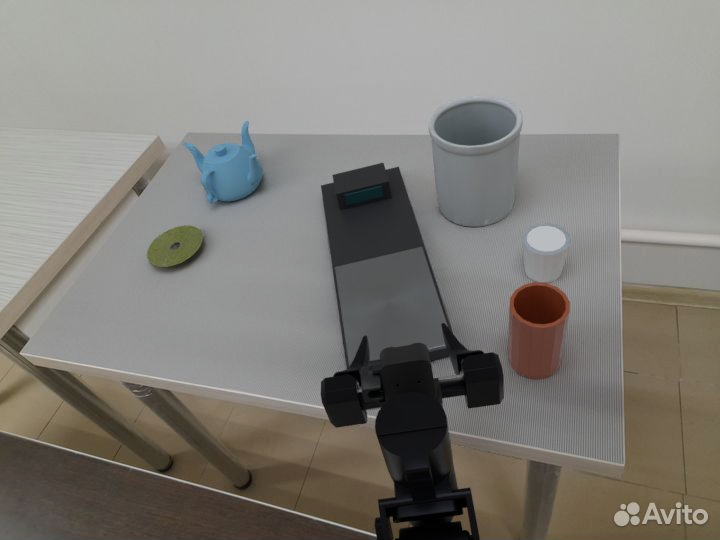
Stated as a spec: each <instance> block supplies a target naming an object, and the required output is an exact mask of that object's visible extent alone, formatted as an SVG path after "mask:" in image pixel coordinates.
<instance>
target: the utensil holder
mask: <svg viewBox="0 0 720 540" xmlns="http://www.w3.org/2000/svg"><path fill="white" fill-rule="evenodd" d="M523 122H524V121H523V113H522V111H521V109H520V108H519V106H518V105H517V104H515V103H514V102H512V101H511V100H509V99H507V98H504V97H500V96H496V95H488V94H474V95H468V96H462V97H459V98H456V99H455V98H454V99H452V100H449V101H447V102H445V103H444V104H442V105H441V106H439V107H438V108H437V109H435V111H434V112H433V113H432V114H431V116H430V118H429V120H428V133H429V137H430V139H431V151H432V162H433V173H434V181H435V182H434V183H435V190H436V196H437V197H436V198H437V203H438V204H437V205H438V208H439V211H440V213H441V214H442V216H443V217H444V218H446V219H447V220H448V221H450V222H452V223H454V224H456V225H459V226H463V227H470V228H471V227H472V228H477V227H485V226H490V225H493V224H496V223H498V222H499V221H502V220H503V219H504V218H506V217H507V216H508V215H509V214H510V213H511V211H512V210H513V208H514V205H515V198H516V191H517V190H516V189H517V188H516V187H517V179H518V165H519V152H520V140H521V131H522V128H523Z"/></svg>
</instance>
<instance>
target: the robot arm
mask: <svg viewBox="0 0 720 540" xmlns="http://www.w3.org/2000/svg"><path fill="white" fill-rule="evenodd" d="M441 326H442V332H443V337H444V342H445V345H446V348H447V351H448V354H449V357H448V358H449V359H450V363H451V366H452V368H453V372H454V375H447V376H441V377H434V373H433V367H432V363H431V362H432V361H430V355H429V350H428V347H427V346H426V345H425V344H423V343H413V344H411V345H406V346H400V347H388V348H385V349H383V350H382V351H381V353H380V359H378V360H372V361H370V351H369V342H368V338H367V336H363V338H362V341H361V343H360V346H359V348H358V350H357V353H356V355H355V357H354V360H353V361H352V363H351V365H350V366H349V368H348V369H347V368H346V369H344V370H340V371H336V372H334V374H333V375H332V376H328V377H324V378H323V379H322V380H321V381H320V399H321V403H322V406H323V408H324V411H325V413H326V415H327V418H328V421H329V423H330V424H331V425H332V426H333V427H335V428H336V429H338V428H344V427H350V426H351V427H352V426H358V425H365V424H367V423H368V411H375V410H378V412H377V414H376V417H375V422H374V430H375V435H376V438H377V442H378V445H379V448H380V450H381V454H382V457H383V459H384V462H385V466H386V469H387V472H388V474H389V476H390V478H391V480H392V482H393V489H394V490H393V491H394V497H393V496H392V497H385V498H378V499H377V505H378V512H379V517H375V518H374V530H375V536H376V540H481V538H480V532H479V525H478V521H477V517H476V510H475V505H474V499H473V494H472V489H471V487H463V488H459V487H458V481H457V476H456V471H455V464H454V457H453V451H452V450H453V448H452V442H451V436H450V429H449V423H448V417H447V413H446V412H445V409H444V405H443V404H444V401H443V399H447V398H454V397H463V396H464V399H465V403H466V407H467V409H476V408H482V407H489V406H496V405H497V406H498V405H501V404H502V402H503V400H504V398H505V382H504V378H505V377H504V370H503V365H502V363H501V358H500V356H499V354H497V353H495V352H493V351H490V352H484V351H483V350H482V349H475V350H472V349H468V348H467V347H466V346H465V345H463V344H462V342H460V341H459V339H458V338H457V337H456V335H455V334H454V332H453V331H452V332H453V333H452V332H451V331H450V329H449V328H448V327H447V325H446V324H445V323H441ZM464 509H466V510H467V516H468V522H469V523H468V524H469V528H470V532H469V530H468V529H463V524H462V521H461V520H456V521H452V520H453V519H454V517H455V516H456V517H458V516H463V515H464ZM391 518H392V522H391ZM392 523H394V524H399V523H400V524H402V523H408V524H409V525H411V526H407V527H399V530H398V537H395V538H394V533H393V528H392ZM470 533H471V534H470Z"/></svg>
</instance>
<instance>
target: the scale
mask: <svg viewBox="0 0 720 540" xmlns="http://www.w3.org/2000/svg"><path fill="white" fill-rule="evenodd" d="M331 176H332V181H333V182H330V183H325V184H321V185H320V190H321V196H322V203H323V204H322V205H323V211H324V219H325V225H326V231H327V238H328V239H327V240H328V246H329V247H328V248H329V253H330V261H331V266H332V268H331V269H332V275H333V282H334V287H335V288H334V289H335V295H336V302H337V311H338V316H339V324H340V331H341V338H342V346H343V352H344V360H345V366H346V367H345V368H346V369H348V368H349V366H350V365H351V363H352V361H353V360H354V357H355V355H356V353H357V350H358V348H359V346H360V343H361V341H362V338H363V336H367V338H368V342H369V351H370V361H372V360H378V359H380V353H381V351H382V350H383V349H385V348H388V347H400V346H406V345H411V344H413V343H423V344H425V345H426V346H427V347H428V350H429V355H430V361H431V362H433V361H438V360H443V359H447V358H450V357H449V354H448V351H447V348H446V345H445V342H444V337H443V332H442V326H441V323H445V324H446V325H447V327H448V328H449V329H450V331H451V332H452V333H453V334H454V331H453V329H452V325H451V322H450V320H449V317H448V313H447V310H446V307H445V304H444V301H443V298H442V295H441V293H440V289H439V285H438V282H437V279H436V277H435V276H436V275H435V274H434V270H433V268H432V264H431V261H430V259H429V255H428V252H427V249H426V246H425V243H424V240H423V237H422V233H421V231H420V227H419V224H418V222H417V218H416V215H415V212H414V208H413V206H412V202H411V200H410V197H409V194H408V191H407V187H406V185H405V184H406V183H405V182H404V179H403V175H402V172H401V169H400V166H396V167H391V168H388V169H386V167H385V162H379V163H376V164H372V165H367V166H364V167H359V168H355V169H351V170H346V171H342V172H338V173H334V174H332V175H331Z"/></svg>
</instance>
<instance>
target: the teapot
mask: <svg viewBox="0 0 720 540" xmlns="http://www.w3.org/2000/svg"><path fill="white" fill-rule="evenodd" d="M249 126H250V121H249V120H246V121H245V122H244V123H243V124H242V126H241V132H240V133H241V145H239V144H238V143H234V142H225V143H218V144H216V145H215V146H214V147H212V148H211V149H210V150H209V151H207V152H206V154H205V155H204V154H203V153H201V152H202V151H200V149H198V148H197V147H196V145H194V144H193V143H190V142H183V143H182V145H183V147H185V148H186V149H188V150H189V152H190V153H191V155H192V157H193V159H194V162H195V165H196V167H197V168H198V170H199V171H200V172H201V175H200V184H201V186H202V187H203V189H204V192H205V193H206V194H207V196H206V200H207V202H208V203H209V204H215V203H217V202H218V201H220V202H235V201H239V200H242V199H244V198H246V197H248V196H250V195H251V194H253V193H254V192H255V191H256V190H257V188H258V187H259V185H260V183H261V181H262V179H263V176H264V169H263V166H262V165H261V163H260V162H259V160H258V159H257V157H258V155H259V153H256V148H255V145H254V143H253V141H252V138H251V136H250V133H249Z"/></svg>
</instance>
